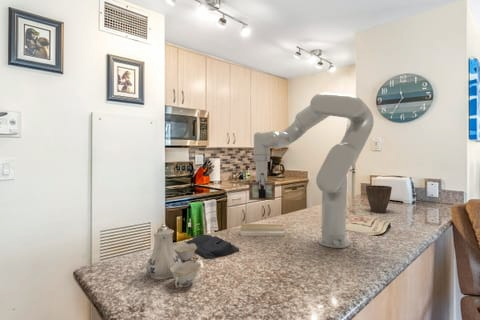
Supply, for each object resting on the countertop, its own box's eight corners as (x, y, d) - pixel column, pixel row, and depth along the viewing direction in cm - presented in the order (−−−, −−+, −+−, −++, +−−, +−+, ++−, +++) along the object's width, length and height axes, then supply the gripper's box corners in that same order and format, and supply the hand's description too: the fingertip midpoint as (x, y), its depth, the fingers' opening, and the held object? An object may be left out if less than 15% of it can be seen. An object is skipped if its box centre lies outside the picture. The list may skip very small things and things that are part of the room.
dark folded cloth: (212, 238, 126) (212, 228, 126) (242, 252, 108) (242, 240, 108) (180, 245, 117) (180, 234, 117) (207, 262, 99) (207, 249, 99)
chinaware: (205, 296, 79) (210, 236, 79) (142, 298, 74) (148, 235, 74) (193, 259, 105) (197, 215, 105) (146, 259, 101) (150, 213, 101)
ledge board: (281, 228, 140) (281, 222, 140) (284, 235, 128) (284, 229, 128) (241, 228, 141) (241, 222, 141) (240, 235, 129) (240, 229, 129)
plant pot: (361, 211, 178) (361, 186, 178) (371, 208, 188) (371, 184, 188) (386, 215, 167) (386, 188, 167) (395, 211, 177) (395, 186, 177)
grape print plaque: (318, 233, 144) (382, 242, 126) (317, 221, 143) (382, 228, 125) (336, 218, 166) (393, 224, 148) (335, 208, 166) (393, 213, 147)
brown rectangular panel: (274, 198, 136) (274, 181, 136) (274, 199, 132) (274, 182, 131) (249, 198, 136) (249, 181, 136) (249, 199, 132) (249, 182, 132)
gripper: (253, 158, 142) (253, 194, 142) (254, 159, 125) (254, 200, 126) (268, 158, 142) (268, 194, 142) (271, 158, 125) (271, 200, 125)
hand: (261, 196), depth 134 cm, fingers closed on brown rectangular panel, 4 cm apart
